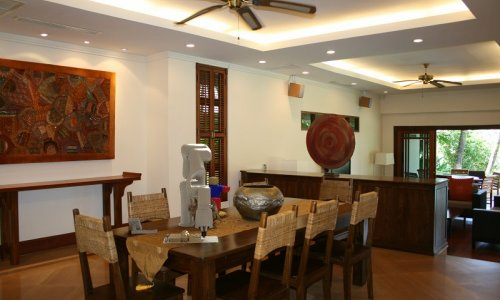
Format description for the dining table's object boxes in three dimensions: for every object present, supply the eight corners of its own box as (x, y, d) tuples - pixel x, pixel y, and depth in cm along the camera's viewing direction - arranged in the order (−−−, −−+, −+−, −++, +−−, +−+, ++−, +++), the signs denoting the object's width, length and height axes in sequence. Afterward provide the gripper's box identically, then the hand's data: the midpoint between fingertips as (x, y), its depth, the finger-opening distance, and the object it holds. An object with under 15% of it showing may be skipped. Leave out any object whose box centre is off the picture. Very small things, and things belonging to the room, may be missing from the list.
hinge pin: (165, 237, 257) (165, 234, 257) (168, 237, 257) (168, 234, 257) (163, 242, 245) (164, 239, 244) (167, 242, 245) (167, 239, 245)
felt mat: (164, 237, 258) (164, 237, 258) (217, 236, 262) (217, 236, 262) (162, 244, 243) (162, 243, 243) (218, 242, 247) (218, 242, 247)
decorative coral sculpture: (225, 209, 315) (231, 208, 286) (210, 237, 310) (215, 239, 281) (196, 192, 313) (199, 190, 284) (180, 220, 307) (181, 220, 278)
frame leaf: (169, 237, 257) (170, 230, 257) (188, 237, 258) (188, 230, 258) (168, 242, 245) (168, 235, 245) (188, 242, 246) (188, 234, 246)
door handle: (130, 240, 276) (127, 231, 258) (131, 228, 280) (127, 218, 262) (158, 238, 279) (156, 229, 261) (158, 227, 282) (156, 217, 265)
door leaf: (182, 237, 257) (182, 230, 257) (201, 237, 259) (201, 230, 259) (181, 242, 246) (181, 234, 245) (201, 242, 247) (201, 234, 247)
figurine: (218, 211, 354) (218, 175, 353) (232, 215, 336) (232, 177, 336) (195, 213, 341) (195, 176, 340) (208, 217, 324) (209, 179, 323)
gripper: (216, 206, 257) (216, 235, 258) (191, 206, 255) (191, 236, 256) (216, 207, 250) (216, 238, 250) (191, 208, 248) (191, 239, 248)
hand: (203, 237), depth 253 cm, fingers closed
